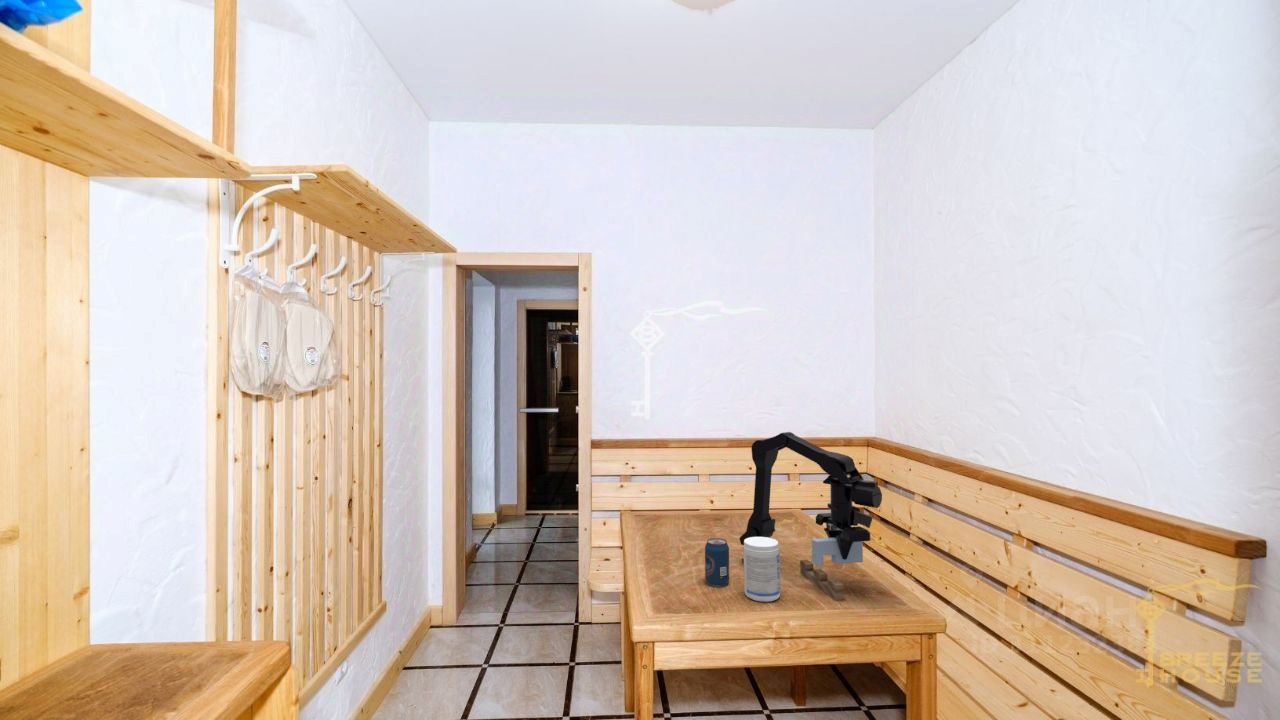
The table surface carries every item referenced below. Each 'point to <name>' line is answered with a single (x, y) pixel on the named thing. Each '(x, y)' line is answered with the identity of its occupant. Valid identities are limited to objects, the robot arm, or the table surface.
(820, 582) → the notched rail
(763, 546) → the supplement tub
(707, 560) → the soda can
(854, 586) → the table surface
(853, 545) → the light blue slab
